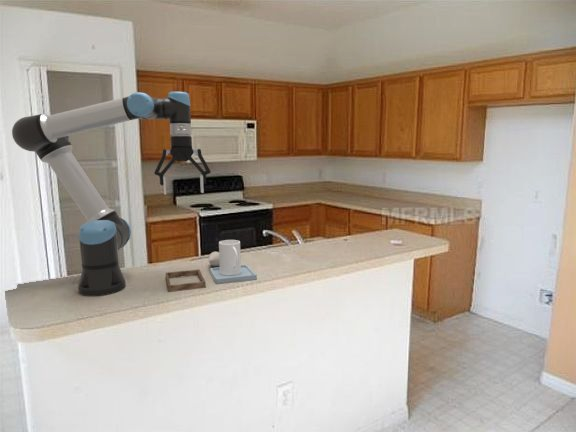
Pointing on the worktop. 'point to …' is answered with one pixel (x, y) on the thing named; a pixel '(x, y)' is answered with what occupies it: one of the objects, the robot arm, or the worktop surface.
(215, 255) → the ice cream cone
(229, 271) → the mug
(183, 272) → the walnut frame
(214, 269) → the tray
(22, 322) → the worktop surface
